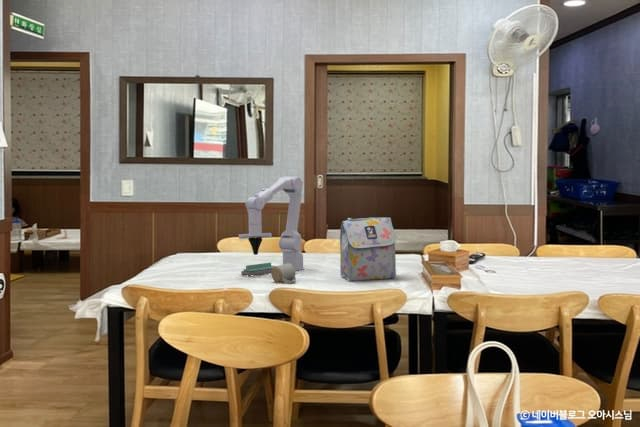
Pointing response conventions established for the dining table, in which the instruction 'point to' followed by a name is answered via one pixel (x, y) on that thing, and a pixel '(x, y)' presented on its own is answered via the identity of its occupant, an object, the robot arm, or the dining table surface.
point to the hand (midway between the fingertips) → (255, 254)
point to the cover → (258, 267)
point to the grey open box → (256, 272)
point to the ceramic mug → (284, 273)
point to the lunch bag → (367, 249)
